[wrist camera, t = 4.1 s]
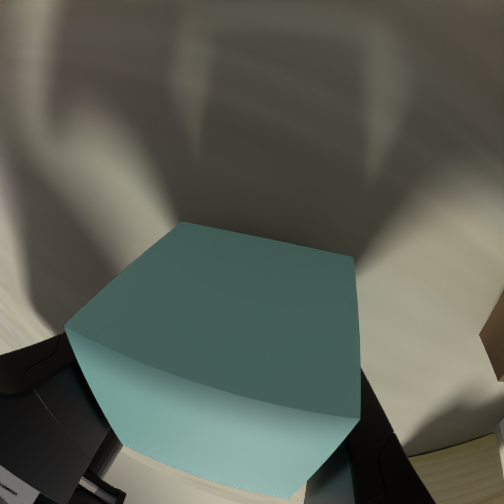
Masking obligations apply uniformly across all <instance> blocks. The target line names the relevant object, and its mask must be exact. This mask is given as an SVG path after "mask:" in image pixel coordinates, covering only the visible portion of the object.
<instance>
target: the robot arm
mask: <svg viewBox="0 0 504 504" xmlns="http://www.w3.org/2000/svg"><path fill="white" fill-rule="evenodd" d="M393 432H394V430H393V428H392V426H391V424H390V422H389V420H388V418H387V416H386V414H385V412H384V410H383V408H382V406H381V404H380V403H379V401H378V399H377V397H376V395H375V393H374V391H373V389H372V387H371V385H370V383H369V381H368V380H367V378H366V376H365V374H364V372H363V370H362V368H361V409H360V420H359V421H358V423H357V424H356V425H355V427H354V428H353V429H352V430H351V432H350V433H349V434H348V435H347V437H346V438H345V439H344V440H343V441H342V443H341V444H340V445H339V446H338V447H337V449H336V450H335V451H334V452H333V453H332V454H331V455H330V457H329V458H328V459H327V460H326V461H325V462H324V463H323V464H322V465H321V467H320V468H319V469H318V470H317V471H316V472H315V473H314V474H313V475H312V476H311V477H310V478H309V479H308V480H307V485H306V492H305V499H304V504H436V502H435V501H434V499H433V497H432V496H431V494H430V493H429V491H428V490H427V488H426V486H425V485H424V483H423V482H422V480H421V479H420V477H419V475H418V474H417V472H416V471H415V469H414V467H413V466H412V464H411V462H410V461H409V459H408V457H407V455H406V453H405V452H404V450H403V448H402V446H401V444H400V442H399V440H398V438H397V436H396V434H395V433H393ZM122 447H123V444H122V443H121V442H120V440H119V438H118V437H117V435H116V434H115V432H114V430H113V429H112V427H111V425H110V423H109V422H108V420H107V418H106V417H105V415H104V413H103V411H102V409H101V407H100V406H99V404H98V402H97V400H96V398H95V396H94V394H93V392H92V390H91V388H90V386H89V384H88V382H87V380H86V378H85V376H84V374H83V372H82V369H81V367H80V365H79V363H78V361H77V358H76V356H75V354H74V351H73V349H72V346H71V344H70V342H69V339H68V336H67V334H66V332H64V333H62V335H61V334H59V335H57V336H54V337H52V338H49V339H47V340H44V341H42V342H39V343H36V344H34V345H31V346H28V347H25V348H22V349H18V350H15V351H12V352H9V353H6V354H2V355H0V504H123V502H124V500H125V497H126V493H125V492H123V491H122V490H120V489H117V488H114V487H113V486H111V485H109V484H108V483H106V482H105V481H103V478H104V477H105V475H106V473H107V472H108V470H109V468H110V467H111V465H112V463H113V462H114V460H115V458H116V457H117V455H118V453H119V452H120V450H121V448H122ZM80 479H82V480H84V481H85V482H87V483H88V484H90V485H91V486H93V487H94V488H96V489H97V491H96V492H95V493H93V492H91V491H89V490H88V489H86V488H85V487H83V486H82V485H80V484H79V481H80Z"/></svg>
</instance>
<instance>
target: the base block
mask: <svg viewBox="0 0 504 504" xmlns="http://www.w3.org/2000/svg"><path fill="white" fill-rule="evenodd" d="M479 336H480V338H481V340H482V343H483V345H484V347H485V350H486V352H487V354H488V357H489V359H490V362H491V364H492V367H493V369H494V372H495V374H496V377H497V380H498V381H501V382H504V291H503V293H502V295H501V297H500V299H499V301H498V303H497V304H496V306H495V308H494V310H493V312H492V314H491V315H490V317H489V319H488V320H487V322H486V324H485V326H484V327H483V329H482V331H481V332H480V334H479Z"/></svg>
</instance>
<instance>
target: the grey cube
mask: <svg viewBox="0 0 504 504" xmlns="http://www.w3.org/2000/svg"><path fill="white" fill-rule="evenodd" d="M499 426H500V430H501V434H502V439H503V443H504V418H503V419H502V420H501V422H500V423H499Z"/></svg>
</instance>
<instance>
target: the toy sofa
mask: <svg viewBox="0 0 504 504" xmlns="http://www.w3.org/2000/svg"><path fill="white" fill-rule="evenodd" d="M408 459H409V461H410V462H411V464H412V466H413V467H414V469H415V471H416V472H417V474H418V475H419V477H420V479H421V480H422V482H423V483H424V485H425V486H426V488H427V490H428V491H429V493H430V494H431V496H432V497H433V499H434V501H435V502H436V504H504V478H503V470H502V464H501V458H500V453H499V447H498V443H497V438H496V435H495V434H494V433H493V434H490V435H487V436H484V437H481V438H478V439H475V440H472V441H469V442H466V443H463V444H460V445H457V446H454V447H450V448H447V449H443V450H439V451H435V452H432V453H427V454H423V455H419V456H414V457H409V458H408Z"/></svg>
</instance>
